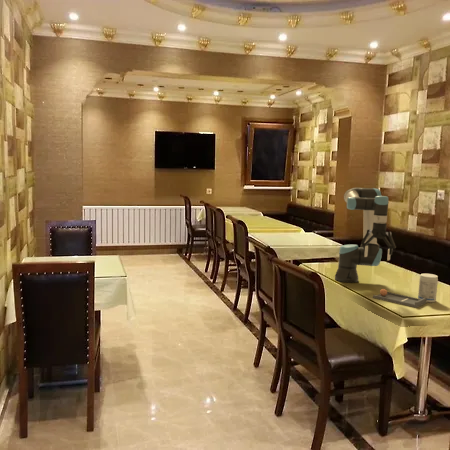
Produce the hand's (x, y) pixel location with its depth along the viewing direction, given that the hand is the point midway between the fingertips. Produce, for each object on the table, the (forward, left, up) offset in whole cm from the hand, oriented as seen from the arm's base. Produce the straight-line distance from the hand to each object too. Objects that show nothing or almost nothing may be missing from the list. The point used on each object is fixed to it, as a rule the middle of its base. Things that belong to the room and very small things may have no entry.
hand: (377, 258), depth 280 cm
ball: (+7, -3, -19) cm, 20 cm away
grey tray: (+16, -3, -21) cm, 27 cm away
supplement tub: (+27, +10, -21) cm, 36 cm away
